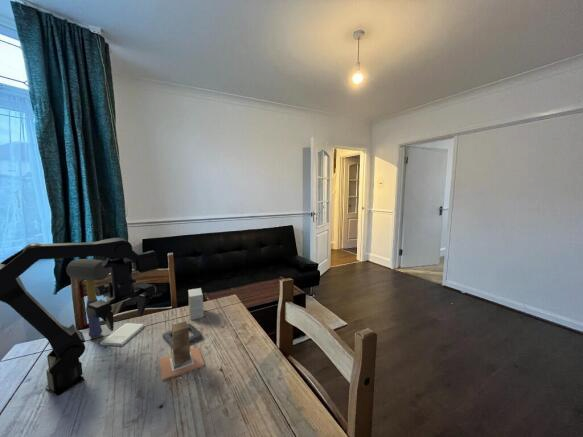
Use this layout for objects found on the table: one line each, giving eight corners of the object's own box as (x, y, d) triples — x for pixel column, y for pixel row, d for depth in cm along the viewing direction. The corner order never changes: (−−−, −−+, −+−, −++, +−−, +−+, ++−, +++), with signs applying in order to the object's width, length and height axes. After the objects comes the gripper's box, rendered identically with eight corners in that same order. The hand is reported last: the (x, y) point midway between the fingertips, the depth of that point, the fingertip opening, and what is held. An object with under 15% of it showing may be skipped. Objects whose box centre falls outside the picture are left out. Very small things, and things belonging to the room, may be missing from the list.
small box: (188, 311, 113) (187, 289, 111) (202, 309, 115) (201, 287, 114) (189, 320, 105) (188, 296, 104) (203, 317, 108) (202, 294, 106)
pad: (162, 380, 73) (162, 378, 73) (159, 360, 81) (159, 358, 81) (204, 365, 79) (204, 363, 79) (198, 348, 87) (198, 346, 87)
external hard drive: (144, 327, 101) (121, 347, 88) (125, 326, 101) (100, 346, 89) (144, 323, 100) (121, 343, 88) (125, 322, 101) (99, 341, 89)
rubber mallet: (118, 332, 96) (111, 257, 92) (100, 344, 89) (92, 263, 85) (91, 329, 98) (83, 255, 94) (71, 340, 91) (62, 261, 87)
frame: (173, 350, 86) (173, 346, 86) (162, 337, 93) (162, 334, 93) (202, 337, 94) (202, 333, 93) (190, 326, 101) (189, 323, 100)
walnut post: (174, 369, 77) (171, 332, 75) (172, 359, 81) (170, 324, 79) (191, 362, 79) (190, 327, 78) (189, 353, 84) (187, 320, 82)
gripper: (134, 265, 91) (138, 305, 93) (73, 283, 74) (79, 332, 76) (155, 269, 86) (158, 311, 88) (94, 290, 69) (100, 342, 72)
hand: (126, 323), depth 81 cm, fingers open, 9 cm apart
